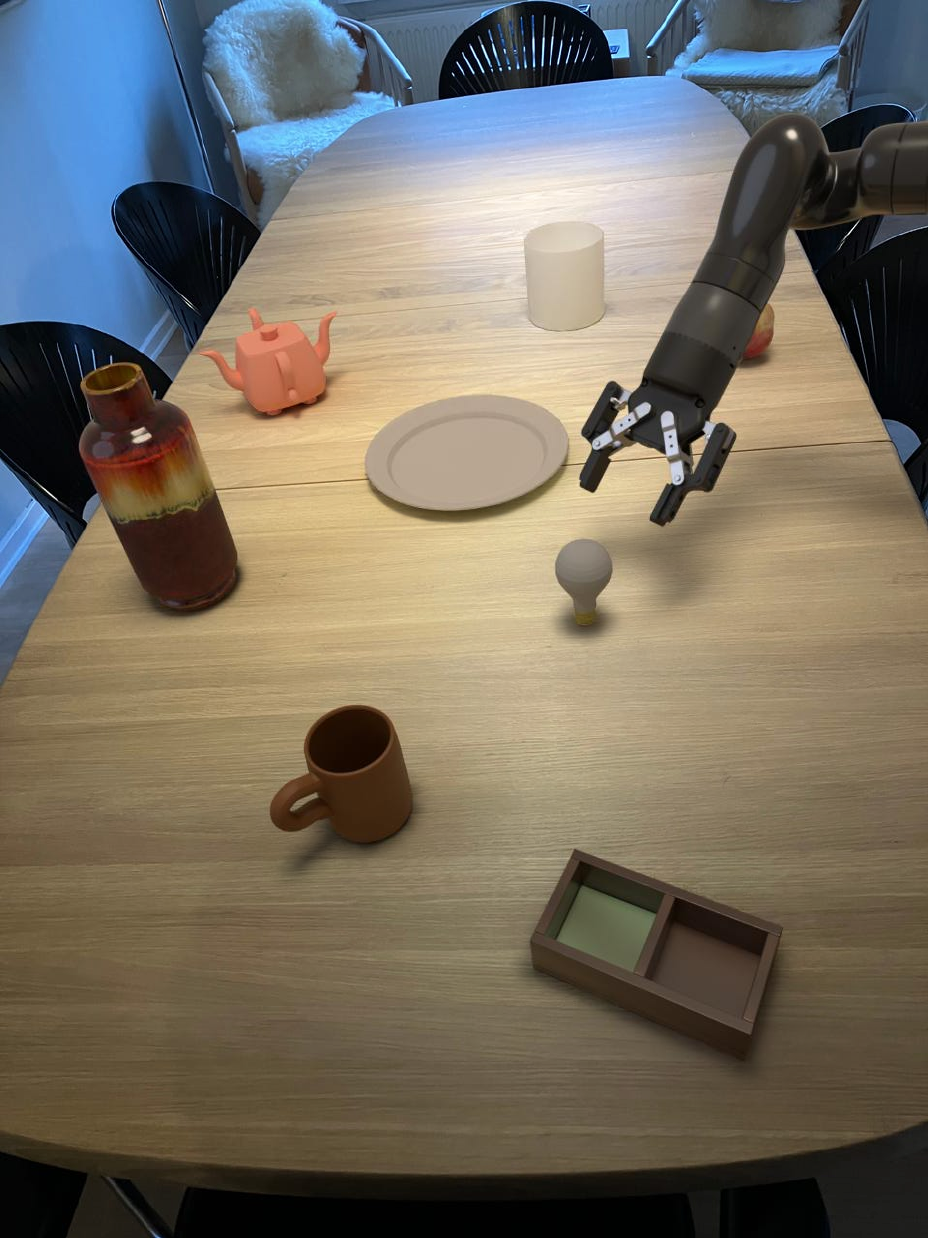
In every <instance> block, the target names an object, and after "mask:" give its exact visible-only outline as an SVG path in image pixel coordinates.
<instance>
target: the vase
mask: <svg viewBox="0 0 928 1238" xmlns="http://www.w3.org/2000/svg"><path fill="white" fill-rule="evenodd" d="M80 389H81V392H82V395H83V396H84V399H85V401H86V403H87V407H88V409H89V411H90V413H91V417H92V418H91V419H90V420H89V421H88V423H87V424H86V426H85V427H84V429H83V431H82V432H81V435H80V437H79V442H78V452H79V455H80V458H81V460H82V463H83V465H84V467H85V469H86V472H87V474H88V476H89V478H90V481H91V483H92V484H93V487H94V489H95V491H96V493H97V495H98V498H99V499H100V502H101V503H102V506H103V508H104V510H105V512H106V515H107V516H108V520H109V521H110V524H111V525H112V528H113V529H114V532H115V533H116V536H117V538H118V540H119V542H120V544H121V546H122V549H123V551H124V552H125V555H126V557H127V559H128V561H129V564H130V565H131V567H132V569H133V572H134V573H135V576H136V577H137V579H138V581H139V583H140V585H141V586H142V589H143V590H144V591H145V592H146V593H148V594H149V595H150V596H152V597H155V598H156V599H157V601H158V603H159V604H160V605H161V606H162V607H164V608H165V609H167V610H170V611H172V612H177V613H190V612H196V611H201V610H203V609H207V608H208V607H211V606H213V605H215V604H217V603H218V602H220V601H222V600H223V599H224V598H225V597H227V596H228V595H229V593H231V591H232V589H233V588H234V586H235V584H236V582H237V581H236V580H237V573H236V570H235V569H236V566H237V562H238V551H237V548H236V544H235V541H234V538H233V536H232V533H231V529H230V527H229V524H228V522H227V518H226V516H225V513H224V510H223V508H222V505H221V501H220V499H219V496H218V493H217V490H216V488H215V485H214V482H213V479H212V476H211V473H210V471H209V468H208V466H207V462H206V460H205V457H204V454H203V451H202V448H201V446H200V443H199V441H198V437H197V435H196V433H195V430H194V427H193V425H192V422H191V420H190V418H189V416H188V414H187V413H186V412H185V411H184V410H183V409H182V408H180V407H179V406H177V405H176V404H175V403H171V402H169V401H166V400H164V399H160V398H154V396H153V393H152V391H151V388H150V386H149V383H148V380H147V379H146V376H145V374H144V371H143V370H142V368H141V366H140V365H139V364H136V363H133V362H116V363H111V364H107V365H104V366H101V367H99V368H96V369H94V370H92V371H91V372H89V373H88V374H87V375H85V376H84V377H83V378H82V379H81V382H80Z"/></svg>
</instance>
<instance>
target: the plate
mask: <svg viewBox="0 0 928 1238" xmlns="http://www.w3.org/2000/svg"><path fill="white" fill-rule="evenodd" d="M569 443H570V441H569V435H568V432H567V430H566V427H565V426H564V424H563V423H562V421H561V420H560V419H559V418H558V417H557V416H556V415H555V414H553V412H551V411H549V410H548V409H546V408H545V407H543V406H541V405H539V404H536V403H534V402H532V401H529V400H526V399H522V398H519V397H512V396H507V395H500V394H499V395H498V394H470V395H469V394H468V395H459V396H453V397H448V398H443V399H437V400H435V401H432V402H427V403H425V404H423V405H420V406H417V407H414V408H413V409H410V410H408V411H406V412H404V413H402V414H401V415H399V416H396V417H395V418H394V419H393V420H391V421H389V422H388V423H387V424H386V425H384V426H383V427H382V428H381V429H380V430H379V431H378V432H377V433H376V434H375V436H374V437H373V438H372V440H371V441H370V443H369V445H368V447H367V449H366V453H365V456H364V468H365V473H366V475H367V477H368V480H369V481H370V482H371V484H372V485H373V486H374V487H375V488H376V489H377V490H378V491H379V492H380V493H382V494H383V495H385V496H386V497H387V498H390V499H392V500H394V501H396V502H399V503H400V504H401V503H402V504H404V505H407V506H411V507H415V508H420V509H425V510H432V511H467V510H476V509H481V508H488V507H491V506H495V505H500V504H503V503H506V502H509V501H513V500H514V499H517V498H519V497H522V496H525V494H528V493H530V492H532V491H534V490H535V489H537V488H538V487H540V486H541V485H543V484H545V483H546V482H547V481H549V480H550V478H552V477H553V476H554V475H555V474H556V473H557V471H559V469H560V468H561V466H562V465H563V464H564V462H565V460H566V458H567V455H568V451H569V447H570V445H569Z"/></svg>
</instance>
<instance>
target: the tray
mask: <svg viewBox="0 0 928 1238" xmlns="http://www.w3.org/2000/svg"><path fill="white" fill-rule="evenodd" d="M783 930H784V927H783V926H781V925H779V924H776V923H773V922H771V921H769V920H766V919H763V918H761V917H757V916H755V915H752V914H750V913H748V912H744V911H742V910H739V909H736V908H734V907H732V906H728V905H726V904H723V903H721V902H718V901H715V900H713V899H709V898H708V897H704V896H702V895H699V894H697V893H694V892H691V891H689V890H686V889H683V888H681V887H678V886H675V885H673V884H670V883H667V882H665V881H662V880H659V879H657V878H653V877H651V876H648V875H646V874H643V873H640V872H638V871H635V870H633V869H630V868H628V867H625V866H622V865H619V864H616V863H614V862H611V861H608V860H606V859H603V858H601V857H598V856H595V855H593V854H590V853H587V852H585V851H581V850H579V849H577V848H574V849H573V851H572V853H571V855H570V858H569V859H568V861H567V863H566V865H565V867H564V869H563V871H562V874H561V876H560V878H559V879H558V882H557V884H556V886H555V888H554V890H553V892H552V894H551V896H550V898H549V900H548V902H547V904H546V906H545V908H544V910H543V913H542V914H541V916H540V918H539V920H538V922H537V924H536V927H535V929H534V931H533V932H532V935H531V937H530V939H529V947H530V953H531V961H532V967H533V969H535V970H538V971H539V972H543V973H545V974H547V975H549V976H552V977H554V978H555V979H558V980H561V981H563V982H565V983H567V984H569V985H572V986H574V987H577V988H579V989H581V990H583V991H586V992H588V993H590V994H593V995H594V996H597V997H599V998H601V999H604V1000H606V1001H608V1002H610V1003H613V1004H614V1005H617V1006H619V1007H622V1008H623V1009H626V1010H629V1011H631V1012H633V1013H636V1014H637V1015H639V1016H643V1017H644V1018H647V1019H649V1020H652V1021H654V1022H656V1023H658V1024H660V1025H662V1026H665V1027H667V1028H669V1029H671V1030H674V1031H676V1032H679V1033H681V1034H683V1035H685V1036H688V1037H690V1038H692V1039H694V1040H697V1041H698V1042H701V1043H703V1044H705V1045H708V1046H710V1047H712V1048H715V1049H716V1050H717V1049H718V1050H719V1051H721V1052H724V1053H726V1054H728V1055H731V1056H733V1057H735V1058H737V1059H740V1060H742V1061H746V1058H747V1055H748V1051H749V1048H750V1046H751V1042H752V1038H753V1035H754V1031H755V1028H756V1025H757V1022H758V1018H759V1014H760V1011H761V1008H762V1005H763V1002H764V998H765V994H766V992H767V988H768V984H769V982H770V977H771V974H772V971H773V968H774V964H775V960H776V957H777V954H778V949H779V947H780V941H781V937H782V933H783Z"/></svg>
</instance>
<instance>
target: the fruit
mask: <svg viewBox="0 0 928 1238" xmlns="http://www.w3.org/2000/svg"><path fill="white" fill-rule="evenodd" d="M775 316H776V315H775V312H774V308H773V306H772V305H771V304H770V303H767V305H766V307H765V308H764V310H763V312H762V314H761V316H760V318H759V321H758V323H757V326H756V328H755V331H754V334H753V337H752V339H751V341H750V344H749V346H748V348H747V350H746V352H745V355H744V357H743V359H742V360H744V359H745V360H746V359H750V358H754V357H756V356H759V355H761V354H762V353H764V352H765V351H766V350H767V349H768V348H769V347H770V345H771V343H772V341H773V338H774V333H775V332H774V328H775V327H774V325H775V319H776V317H775Z"/></svg>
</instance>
